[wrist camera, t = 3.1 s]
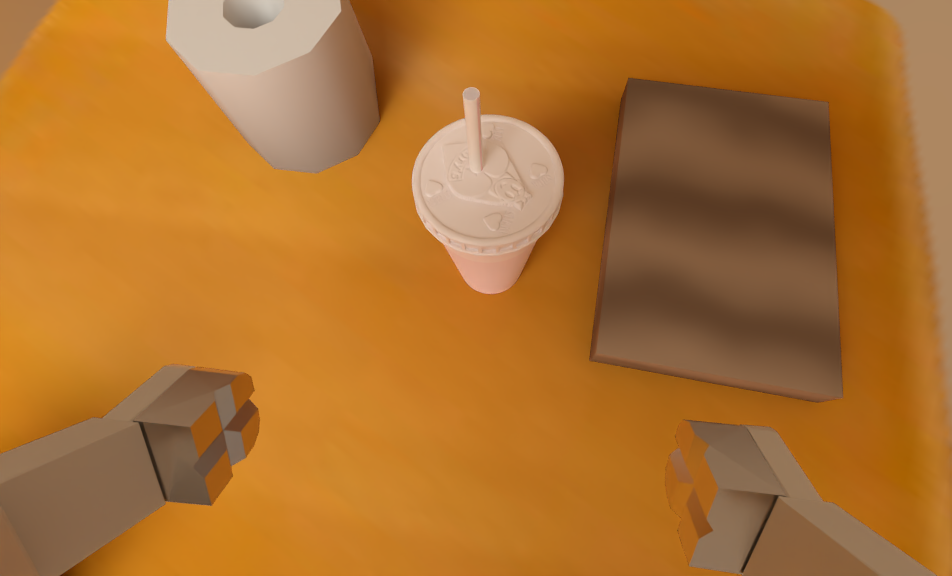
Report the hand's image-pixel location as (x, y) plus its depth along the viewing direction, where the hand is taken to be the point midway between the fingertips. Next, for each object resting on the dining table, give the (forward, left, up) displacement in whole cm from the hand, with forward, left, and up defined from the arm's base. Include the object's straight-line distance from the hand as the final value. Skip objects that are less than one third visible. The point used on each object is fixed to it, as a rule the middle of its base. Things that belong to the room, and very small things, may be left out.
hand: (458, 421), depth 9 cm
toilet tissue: (+25, +4, -17) cm, 31 cm away
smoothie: (+10, -3, -17) cm, 20 cm away
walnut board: (+8, -16, -17) cm, 25 cm away
